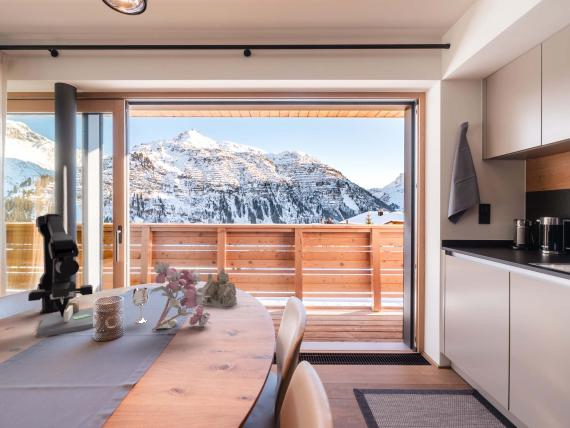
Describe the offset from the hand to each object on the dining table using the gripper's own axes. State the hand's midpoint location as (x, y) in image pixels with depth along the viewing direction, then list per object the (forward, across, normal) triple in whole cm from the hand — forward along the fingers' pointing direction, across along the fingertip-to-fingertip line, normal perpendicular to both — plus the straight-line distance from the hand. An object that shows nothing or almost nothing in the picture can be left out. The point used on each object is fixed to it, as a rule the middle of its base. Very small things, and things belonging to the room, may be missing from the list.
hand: (62, 316), depth 113 cm
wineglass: (+3, +25, -11) cm, 27 cm away
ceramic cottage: (+3, +58, -4) cm, 58 cm away
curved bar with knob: (+1, +2, +5) cm, 5 cm away
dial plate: (+3, +2, +2) cm, 4 cm away
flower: (+4, +38, -26) cm, 46 cm away
